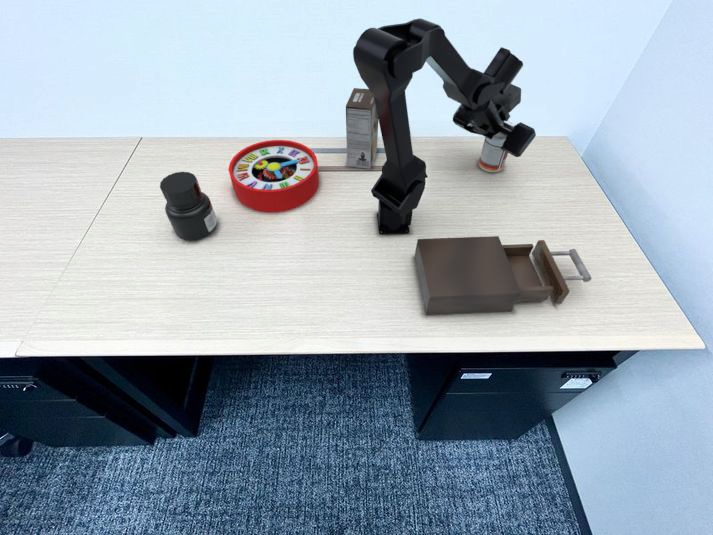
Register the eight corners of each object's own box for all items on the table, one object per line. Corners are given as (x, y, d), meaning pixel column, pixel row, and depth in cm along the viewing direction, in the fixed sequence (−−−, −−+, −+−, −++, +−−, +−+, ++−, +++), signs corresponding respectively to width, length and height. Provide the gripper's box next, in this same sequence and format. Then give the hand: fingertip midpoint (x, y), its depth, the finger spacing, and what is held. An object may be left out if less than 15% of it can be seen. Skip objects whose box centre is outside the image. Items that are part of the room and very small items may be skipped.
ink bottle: (224, 234, 84) (208, 188, 75) (182, 249, 81) (160, 204, 72) (210, 207, 89) (193, 162, 80) (170, 221, 86) (148, 176, 77)
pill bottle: (494, 156, 103) (506, 115, 94) (507, 170, 99) (522, 128, 90) (473, 161, 101) (484, 120, 93) (486, 175, 97) (499, 133, 89)
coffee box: (353, 146, 105) (353, 86, 93) (377, 149, 105) (380, 89, 92) (346, 166, 100) (345, 105, 87) (371, 170, 99) (373, 108, 87)
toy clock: (219, 152, 93) (299, 132, 99) (225, 173, 98) (301, 152, 104) (242, 202, 82) (331, 176, 88) (248, 223, 86) (332, 197, 92)
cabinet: (490, 255, 80) (498, 236, 76) (511, 311, 71) (521, 292, 67) (414, 258, 80) (417, 238, 75) (425, 315, 71) (429, 296, 66)
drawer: (562, 252, 80) (571, 238, 77) (589, 302, 72) (600, 289, 68) (465, 255, 79) (470, 241, 76) (481, 307, 71) (487, 293, 68)
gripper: (547, 93, 76) (558, 126, 89) (471, 61, 85) (491, 95, 98) (510, 143, 79) (525, 169, 92) (440, 107, 88) (463, 135, 101)
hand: (501, 140), depth 96 cm, fingers open, 7 cm apart
